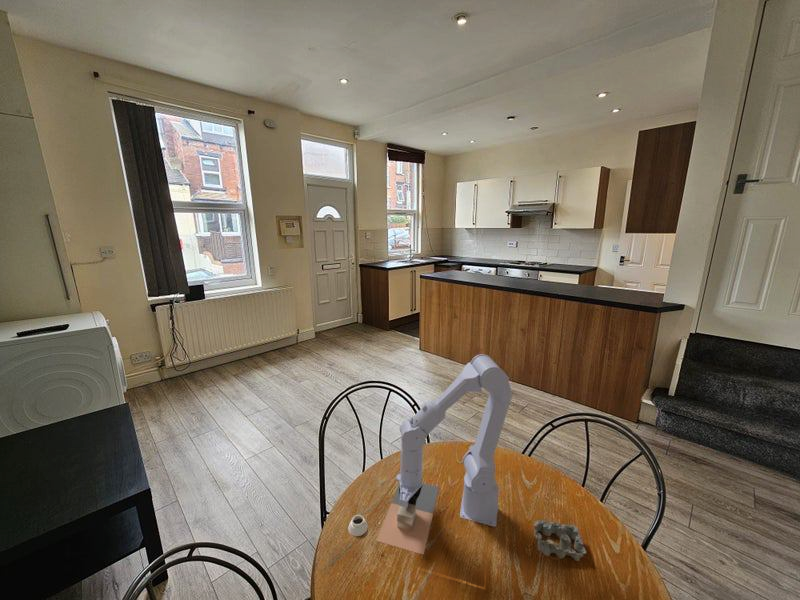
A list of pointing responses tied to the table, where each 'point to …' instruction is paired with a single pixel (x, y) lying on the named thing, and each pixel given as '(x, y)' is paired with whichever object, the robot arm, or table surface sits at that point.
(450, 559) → the table surface
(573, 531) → the egg carton
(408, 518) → the cream block
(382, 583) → the table surface
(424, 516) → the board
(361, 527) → the white jar
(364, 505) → the table surface
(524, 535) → the table surface
